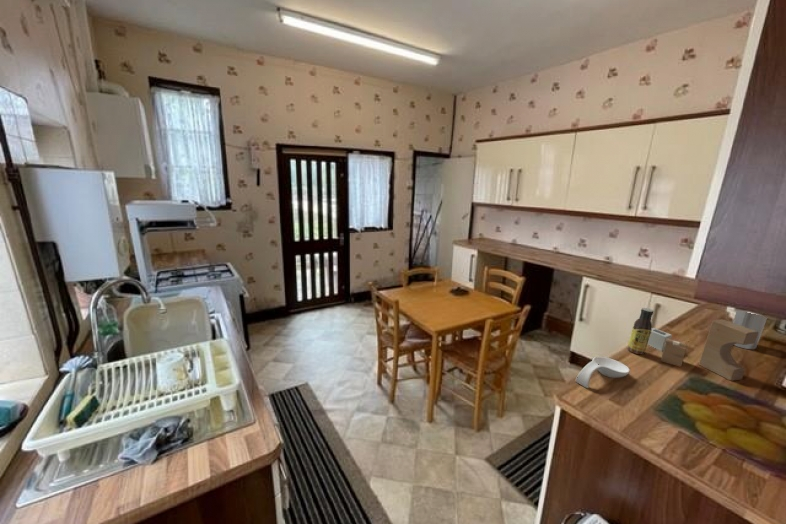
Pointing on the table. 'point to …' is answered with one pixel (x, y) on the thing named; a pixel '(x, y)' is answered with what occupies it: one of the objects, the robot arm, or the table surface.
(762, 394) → the table surface
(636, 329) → the sauce bottle
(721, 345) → the decorative block
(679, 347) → the walnut marked block
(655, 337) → the grey marked block
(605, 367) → the spoon rest
